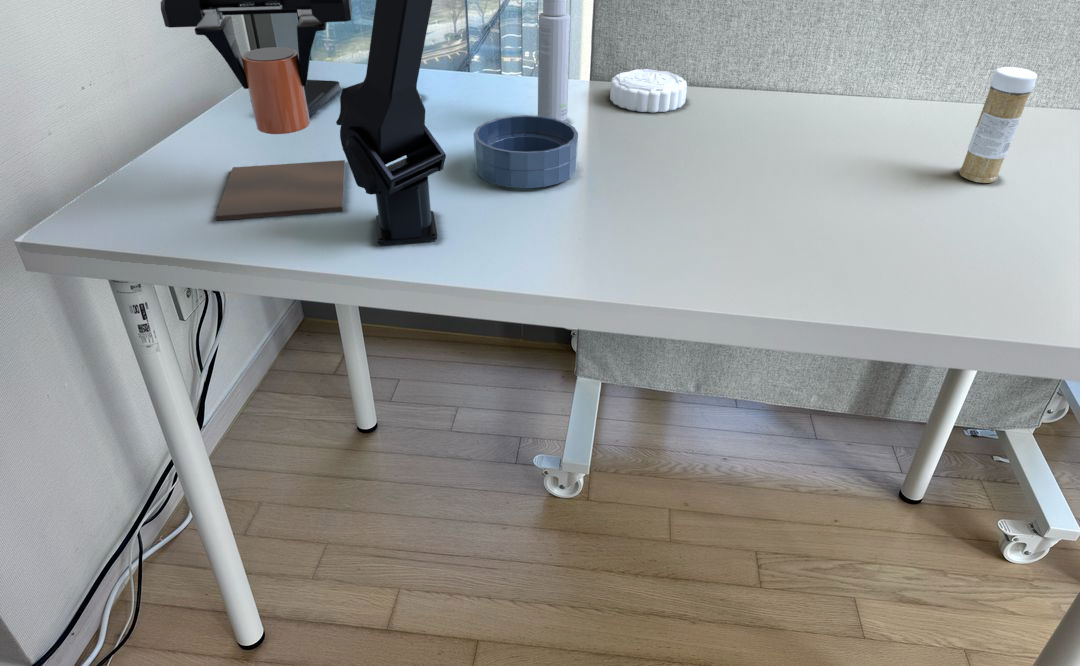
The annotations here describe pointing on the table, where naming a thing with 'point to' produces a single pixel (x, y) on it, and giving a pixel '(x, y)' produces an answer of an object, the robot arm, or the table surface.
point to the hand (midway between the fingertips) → (276, 86)
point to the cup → (276, 90)
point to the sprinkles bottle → (997, 123)
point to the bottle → (553, 60)
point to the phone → (319, 93)
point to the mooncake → (648, 90)
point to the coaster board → (283, 190)
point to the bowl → (525, 151)
